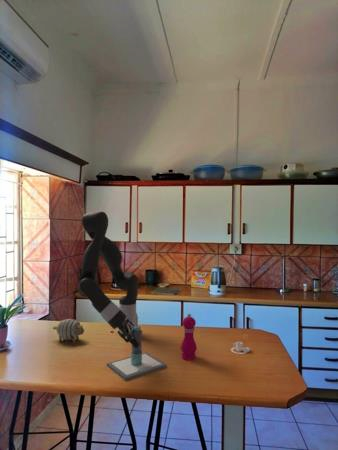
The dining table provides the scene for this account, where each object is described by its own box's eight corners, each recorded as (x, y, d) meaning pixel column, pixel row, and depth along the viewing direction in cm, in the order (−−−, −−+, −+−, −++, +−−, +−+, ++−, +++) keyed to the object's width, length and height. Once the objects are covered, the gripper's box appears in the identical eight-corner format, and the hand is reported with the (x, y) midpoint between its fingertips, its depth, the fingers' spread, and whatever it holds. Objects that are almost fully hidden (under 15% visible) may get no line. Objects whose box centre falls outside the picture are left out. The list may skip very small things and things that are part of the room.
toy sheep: (79, 345, 159) (80, 323, 159) (47, 343, 160) (47, 321, 160) (87, 337, 169) (87, 316, 169) (57, 336, 171) (57, 315, 171)
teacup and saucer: (252, 351, 154) (252, 343, 154) (243, 356, 148) (243, 347, 148) (236, 346, 160) (236, 338, 160) (227, 351, 154) (227, 342, 154)
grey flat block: (146, 354, 149) (146, 350, 149) (166, 367, 136) (166, 362, 136) (106, 365, 137) (106, 361, 136) (125, 380, 124) (125, 376, 124)
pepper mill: (198, 355, 148) (198, 312, 148) (194, 361, 141) (194, 316, 141) (183, 353, 150) (183, 310, 150) (178, 359, 144) (179, 315, 143)
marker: (138, 360, 139) (138, 324, 139) (143, 364, 136) (144, 327, 136) (129, 363, 137) (129, 326, 136) (134, 366, 133) (134, 329, 133)
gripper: (115, 313, 129) (143, 342, 129) (122, 304, 143) (147, 331, 143) (102, 326, 130) (130, 355, 129) (110, 316, 144) (135, 342, 143)
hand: (139, 342), depth 136 cm, fingers open, 8 cm apart
